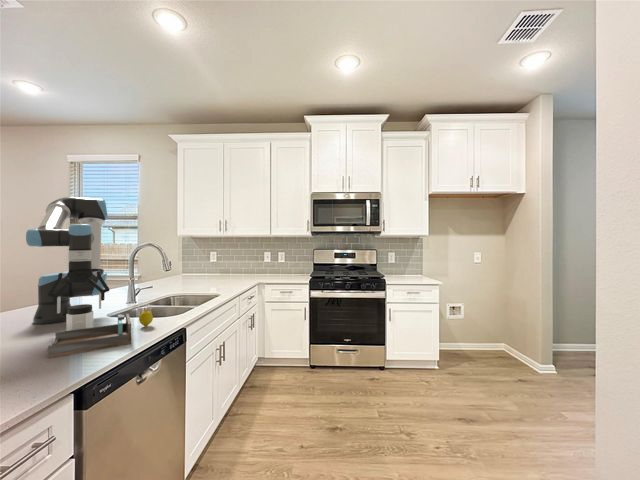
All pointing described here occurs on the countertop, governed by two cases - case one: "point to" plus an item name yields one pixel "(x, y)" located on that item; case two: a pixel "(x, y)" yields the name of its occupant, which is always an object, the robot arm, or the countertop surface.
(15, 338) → the countertop surface
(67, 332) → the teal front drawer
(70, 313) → the jar
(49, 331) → the countertop surface
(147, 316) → the fruit
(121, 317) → the panel
